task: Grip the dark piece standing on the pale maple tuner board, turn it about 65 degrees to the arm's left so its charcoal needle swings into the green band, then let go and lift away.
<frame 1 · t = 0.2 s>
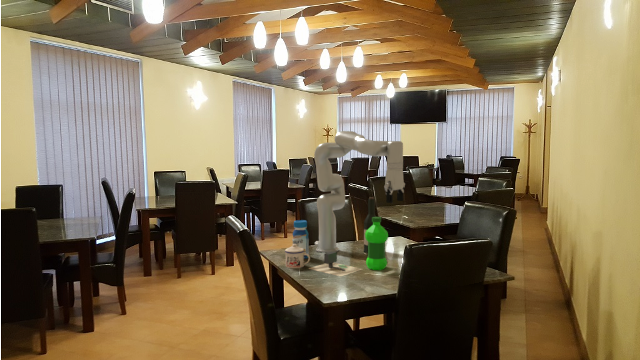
hand: (394, 201, 224), 31 cm above the table, tool pointing down, fingers open, 9 cm apart
dark piece: (336, 261, 214), point 5 cm above the table, hinge at 0.0°
wine bottle: (371, 251, 253), on the table
tuner board: (335, 271, 214), on the table
plastic bottle: (376, 270, 215), on the table
teacup with lid: (297, 268, 220), on the table
beverage bottle: (300, 259, 237), on the table
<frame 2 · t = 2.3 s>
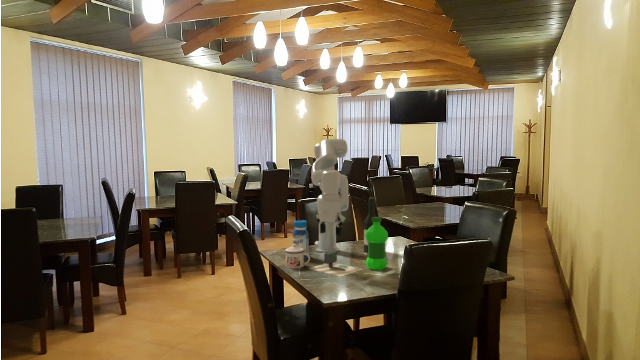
hand: (330, 234, 215), 17 cm above the table, tool pointing down, fingers open, 9 cm apart
nothing on the table moved.
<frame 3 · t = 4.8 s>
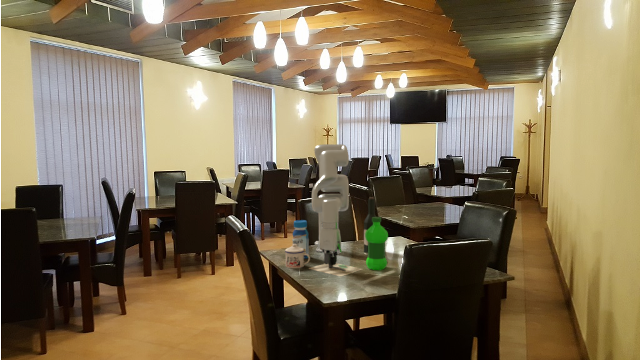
hand: (330, 263, 216), 3 cm above the table, tool pointing down, fingers closed on dark piece, 2 cm apart
dark piece: (336, 261, 214), point 5 cm above the table, hinge at 0.0°, touching gripper
everything else where it was.
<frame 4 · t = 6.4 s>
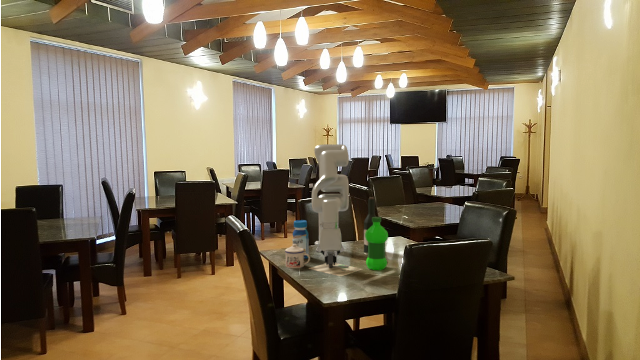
hand: (330, 263, 216), 3 cm above the table, tool pointing down, fingers closed on dark piece, 2 cm apart
dark piece: (338, 260, 216), point 5 cm above the table, hinge at 38.9°, touching gripper
everything else where it was.
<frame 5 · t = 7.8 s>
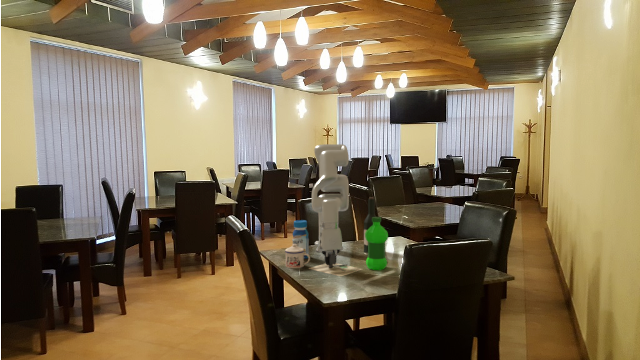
hand: (330, 263, 216), 3 cm above the table, tool pointing down, fingers closed on dark piece, 2 cm apart
dark piece: (337, 259, 217), point 5 cm above the table, hinge at 64.6°, touching gripper
everything else where it was.
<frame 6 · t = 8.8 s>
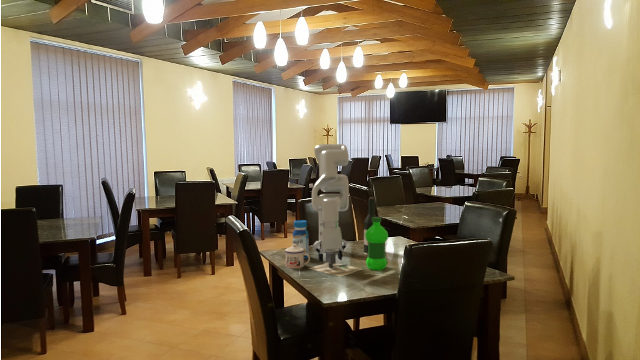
hand: (330, 260, 216), 5 cm above the table, tool pointing down, fingers open, 9 cm apart
dark piece: (337, 259, 217), point 5 cm above the table, hinge at 64.5°
everything else where it was.
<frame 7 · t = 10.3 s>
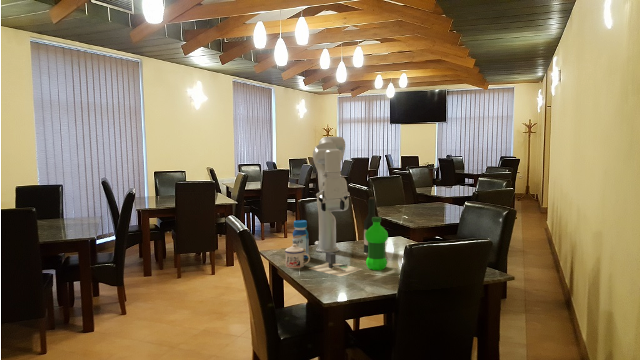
hand: (332, 210, 225), 27 cm above the table, tool pointing down, fingers open, 9 cm apart
nothing on the table moved.
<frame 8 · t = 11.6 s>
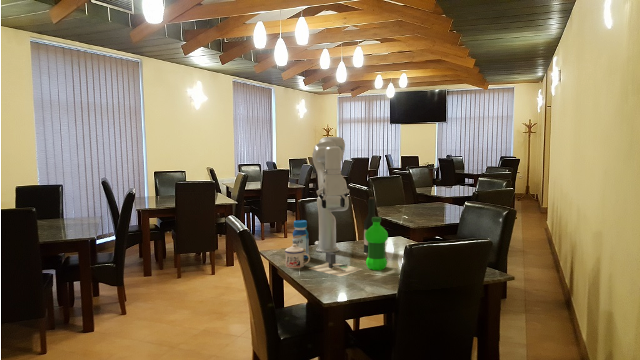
hand: (333, 207, 225), 28 cm above the table, tool pointing down, fingers open, 9 cm apart
nothing on the table moved.
at the end: dark piece at +64° (first picture: +0°); the gripper is holding nothing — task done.
